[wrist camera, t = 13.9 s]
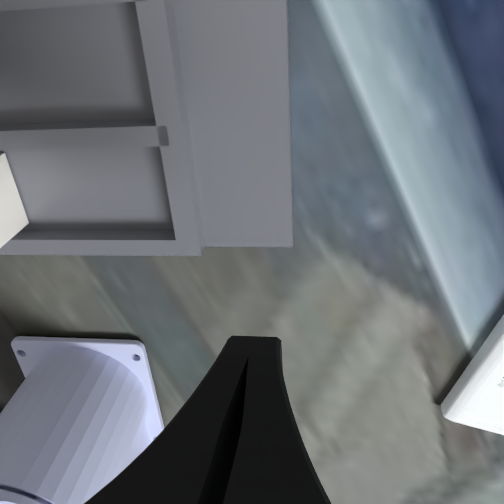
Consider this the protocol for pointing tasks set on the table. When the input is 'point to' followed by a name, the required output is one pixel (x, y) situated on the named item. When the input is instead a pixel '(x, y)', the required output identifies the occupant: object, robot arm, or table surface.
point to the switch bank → (147, 125)
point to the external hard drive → (481, 387)
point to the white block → (9, 204)
